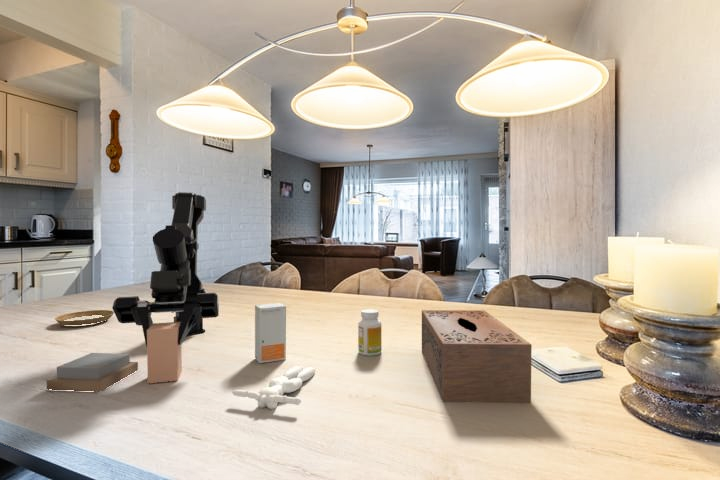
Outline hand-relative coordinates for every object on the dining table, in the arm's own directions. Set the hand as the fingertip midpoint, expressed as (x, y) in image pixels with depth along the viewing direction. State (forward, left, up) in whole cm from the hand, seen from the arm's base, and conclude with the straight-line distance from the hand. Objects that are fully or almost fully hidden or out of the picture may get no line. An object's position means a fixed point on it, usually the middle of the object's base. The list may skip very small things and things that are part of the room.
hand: (163, 345), depth 71 cm
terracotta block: (-1, -1, -7) cm, 7 cm away
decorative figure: (-15, +20, -7) cm, 26 cm away
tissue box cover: (-45, +38, -7) cm, 59 cm away
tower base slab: (+9, -9, -7) cm, 15 cm away
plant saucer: (+3, -65, -7) cm, 66 cm away
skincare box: (-21, +4, -7) cm, 22 cm away
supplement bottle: (-40, +16, -7) cm, 43 cm away
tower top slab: (+9, -9, -5) cm, 14 cm away
